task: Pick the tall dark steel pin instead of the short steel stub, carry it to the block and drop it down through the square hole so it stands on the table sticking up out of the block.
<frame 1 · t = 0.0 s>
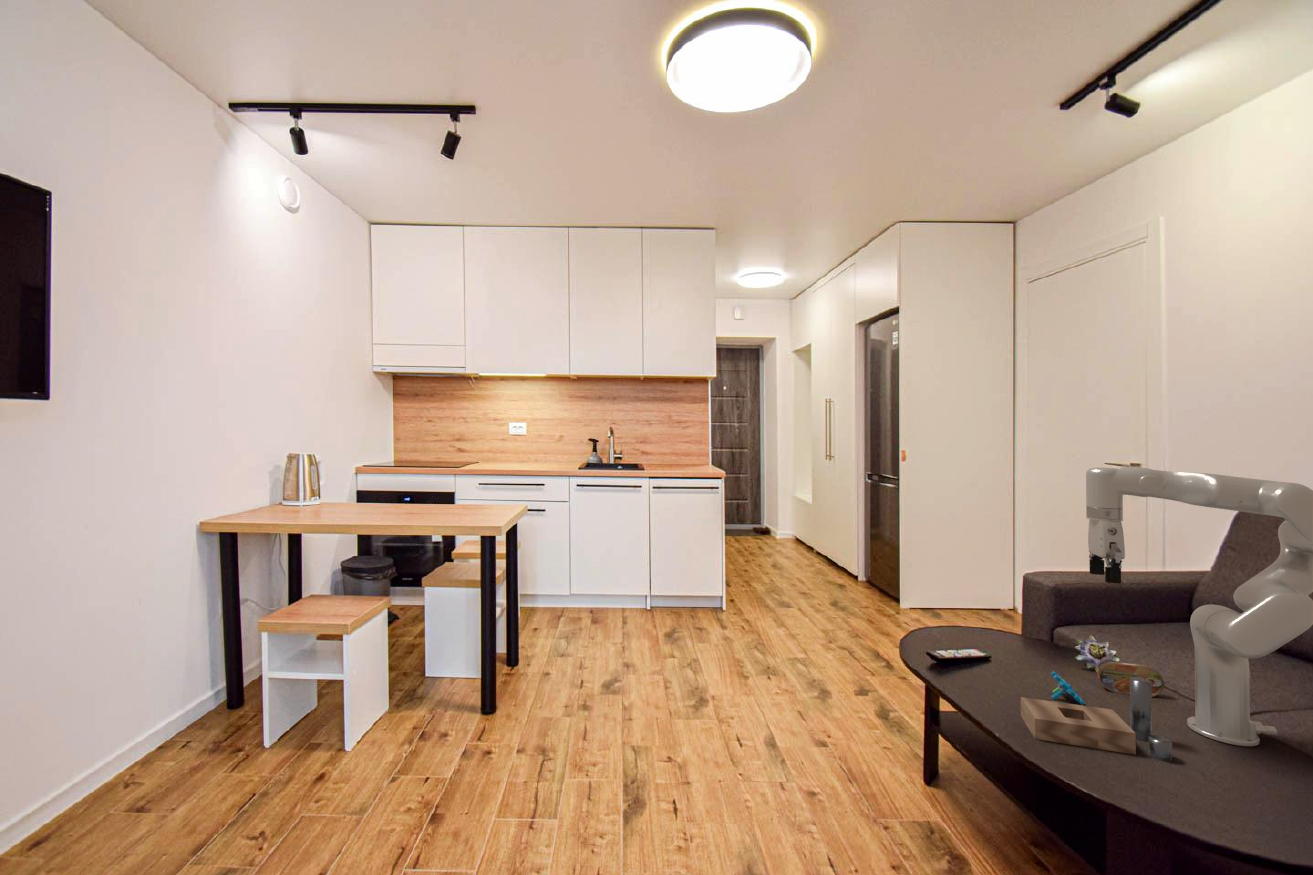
hand: (1104, 578, 145), 37 cm above the table, tool pointing down, fingers open, 9 cm apart
hole block: (1074, 733, 136), on the table
short pin: (1160, 756, 126), on the table
tin: (1129, 693, 159), on the table
passion flower: (1095, 668, 177), on the table
gear: (1067, 701, 154), on the table
long pin: (1141, 736, 135), on the table
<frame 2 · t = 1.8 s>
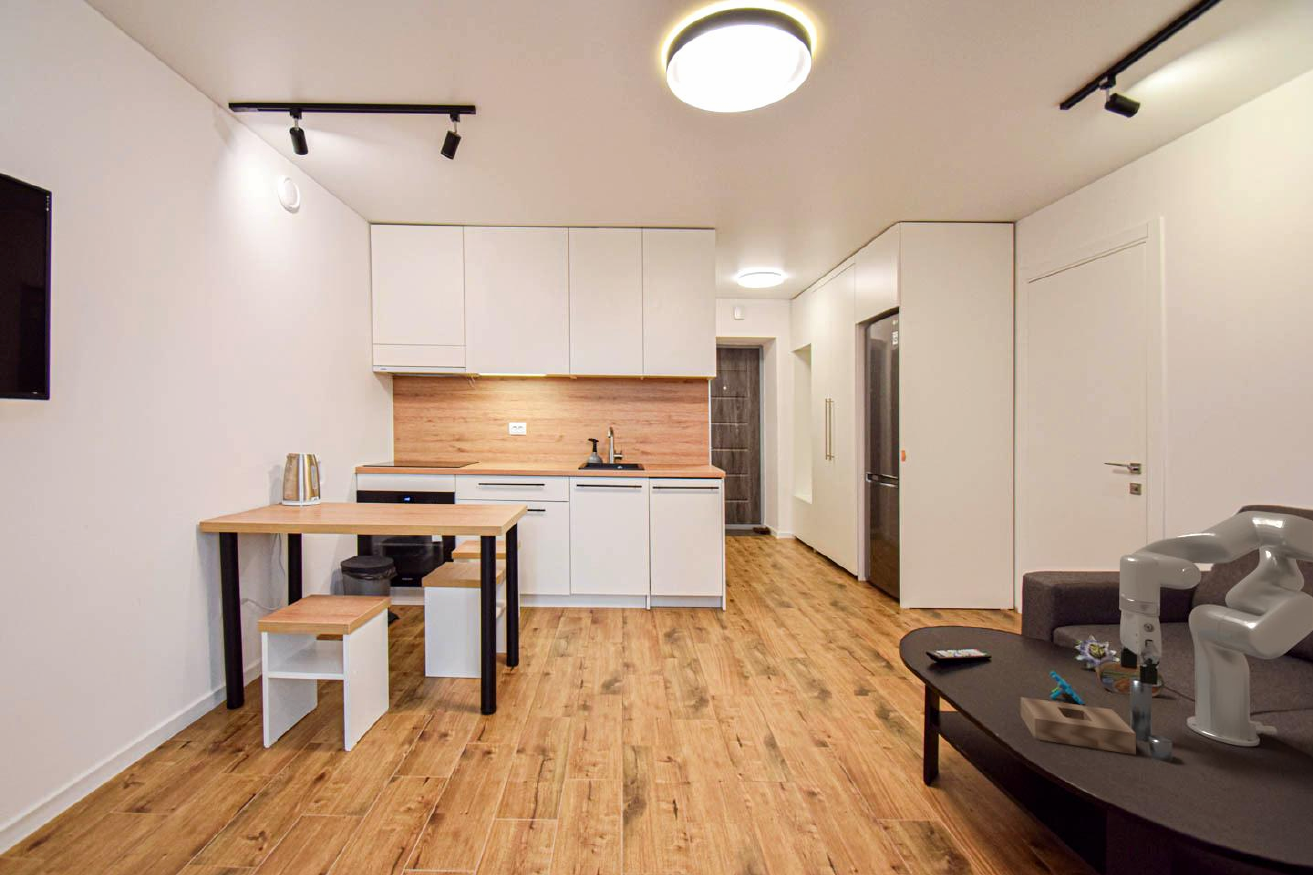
hand: (1138, 675, 135), 15 cm above the table, tool pointing down, fingers open, 9 cm apart
nothing on the table moved.
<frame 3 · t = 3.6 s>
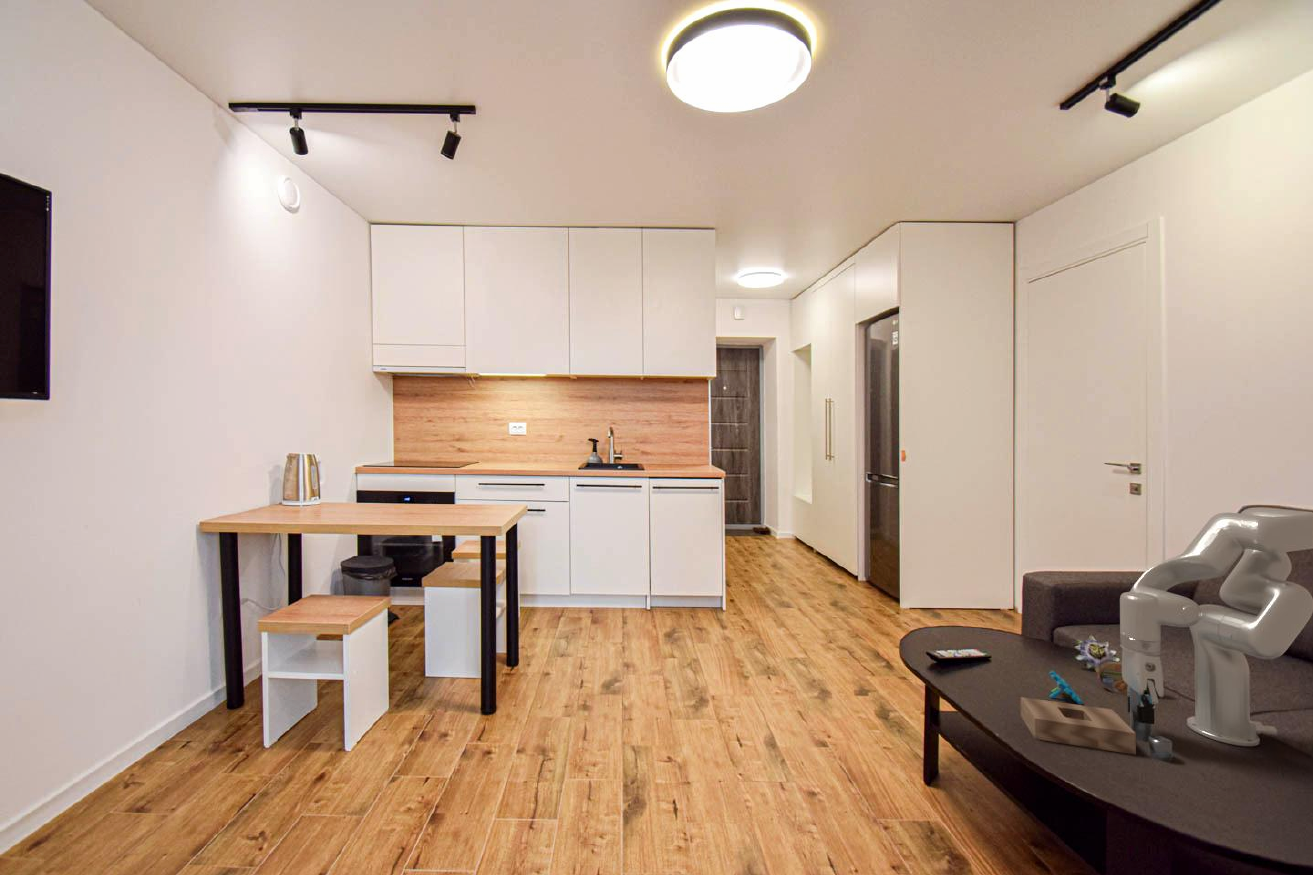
hand: (1140, 717, 135), 5 cm above the table, tool pointing down, fingers closed on long pin, 4 cm apart
long pin: (1141, 736, 135), on the table, touching gripper
everything else where it was.
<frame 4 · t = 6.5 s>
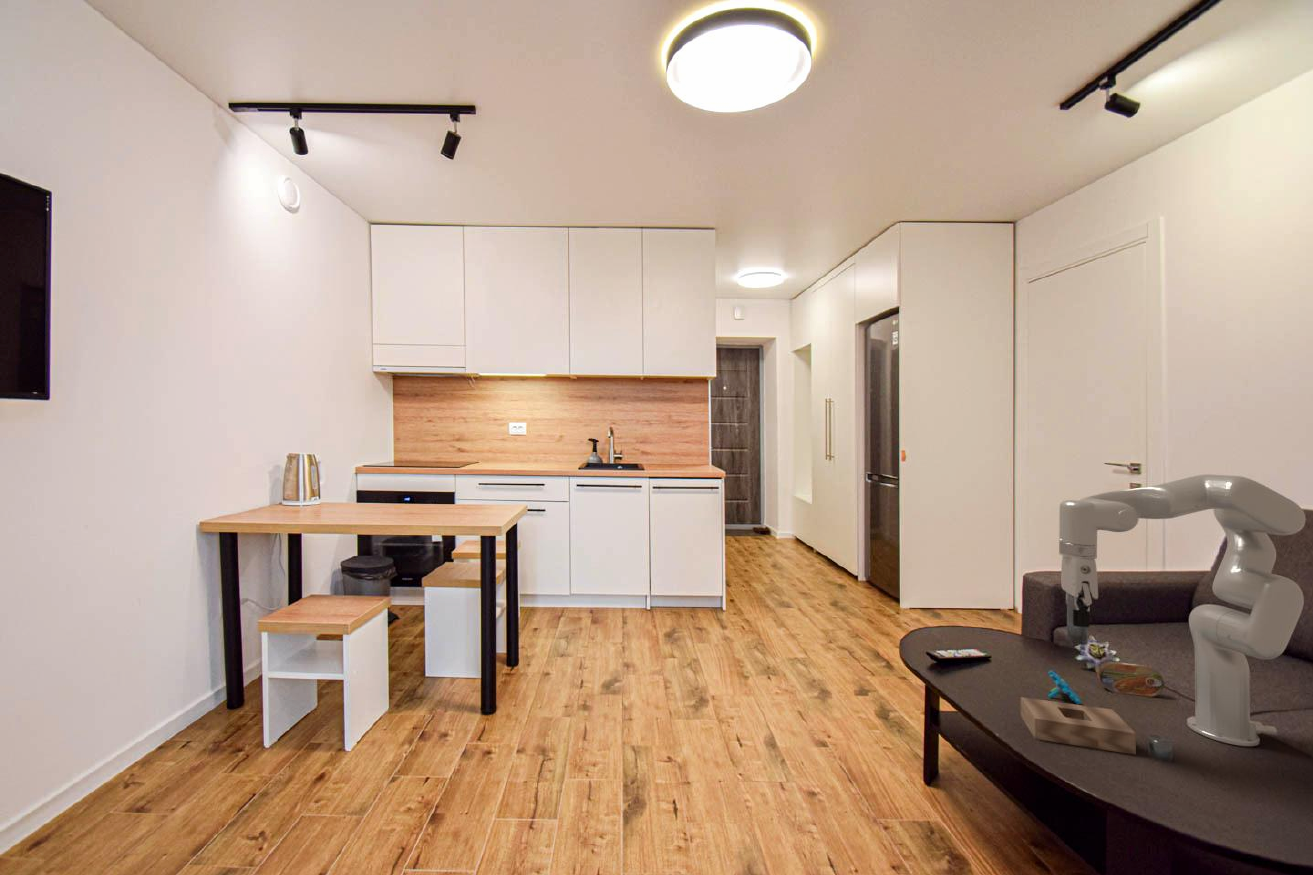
hand: (1077, 622, 136), 28 cm above the table, tool pointing down, fingers closed on long pin, 4 cm apart
long pin: (1076, 641, 136), point 23 cm above the table, touching gripper
everything else where it was.
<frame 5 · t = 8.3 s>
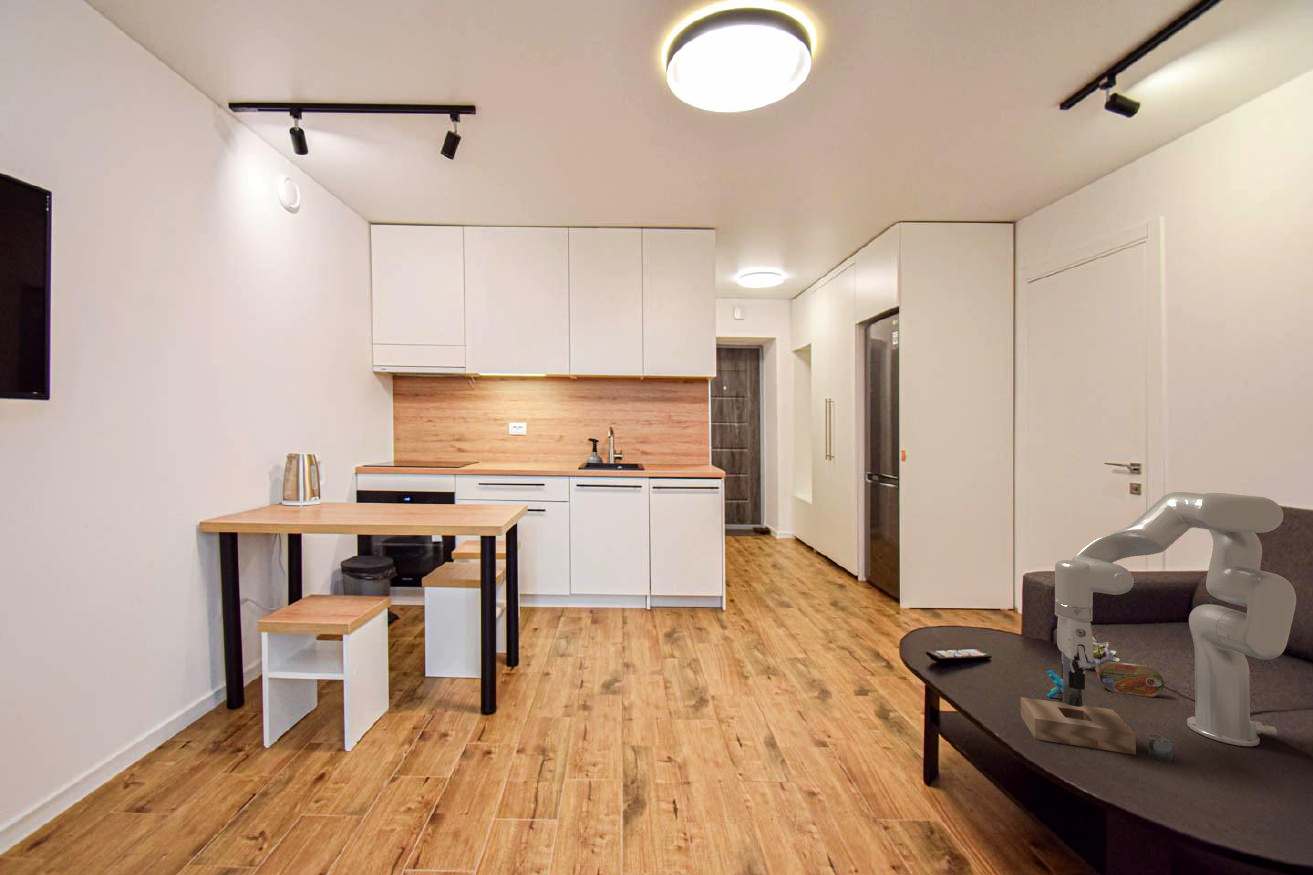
hand: (1072, 683, 136), 12 cm above the table, tool pointing down, fingers closed on long pin, 4 cm apart
long pin: (1072, 702, 136), point 8 cm above the table, touching gripper
everything else where it was.
when the fingers open (7 cm above the table, at t = 9.7 s): long pin drops 2 cm, resting in hole block.
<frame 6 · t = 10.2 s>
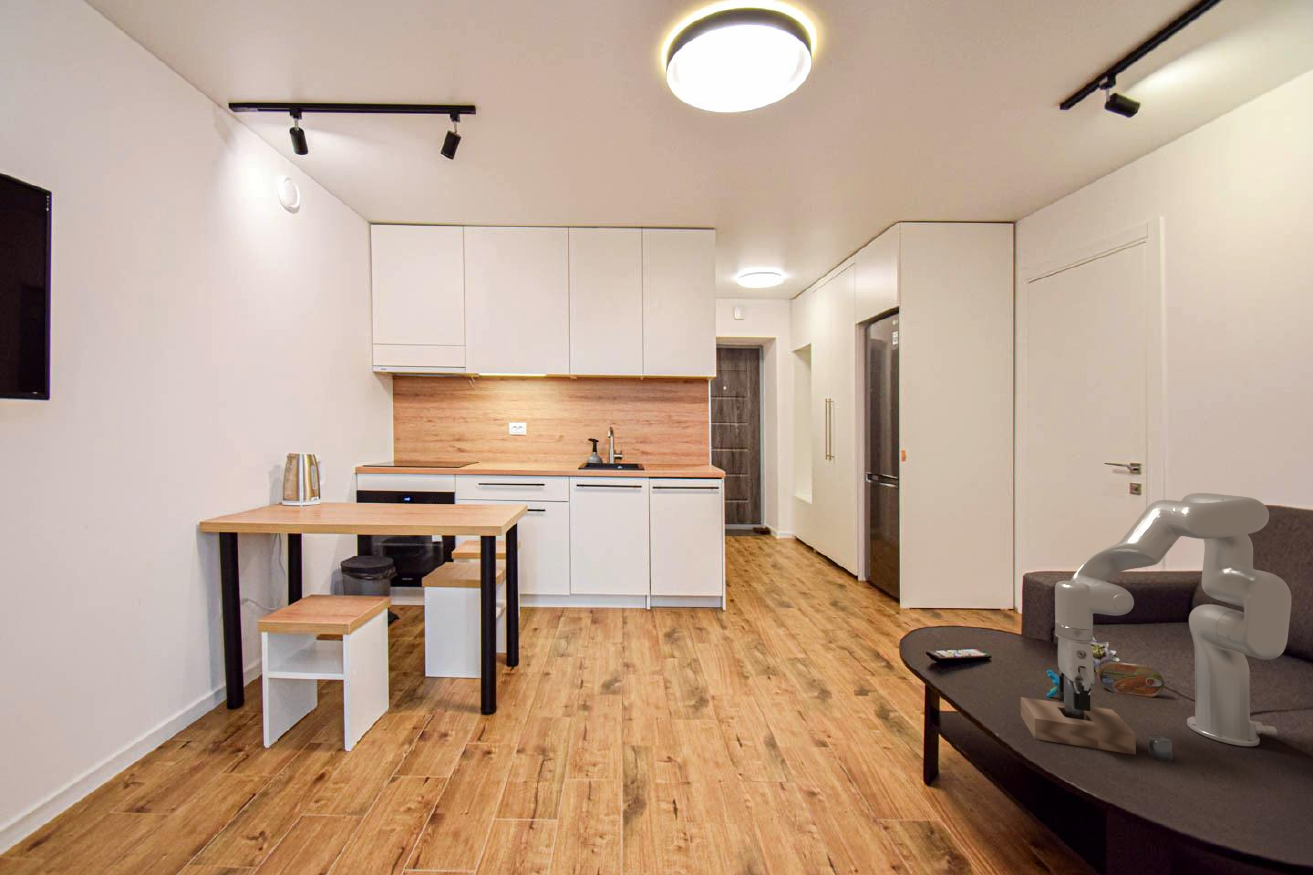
hand: (1074, 700, 136), 8 cm above the table, tool pointing down, fingers open, 9 cm apart
long pin: (1074, 733, 136), resting in hole block
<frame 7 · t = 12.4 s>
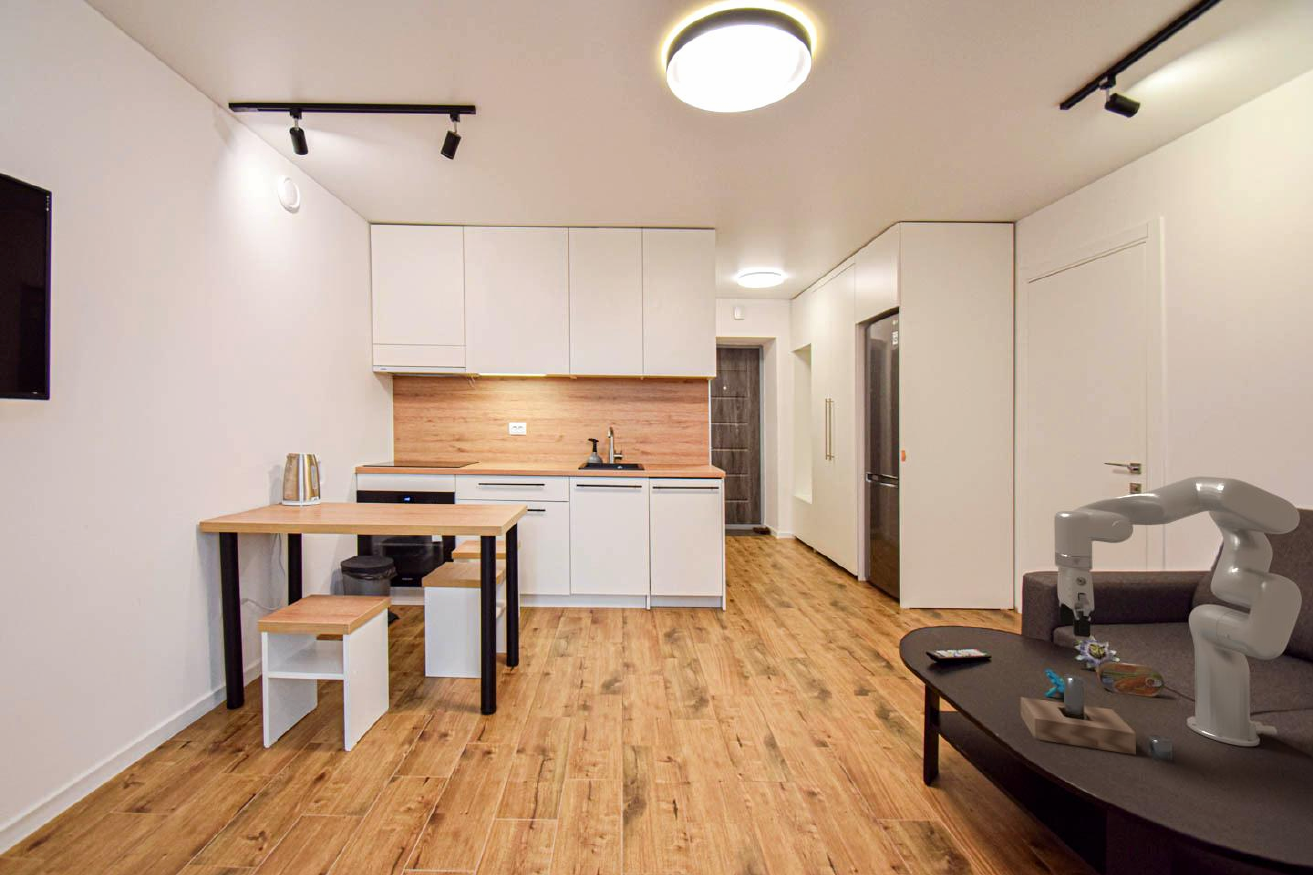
hand: (1074, 629, 136), 26 cm above the table, tool pointing down, fingers open, 9 cm apart
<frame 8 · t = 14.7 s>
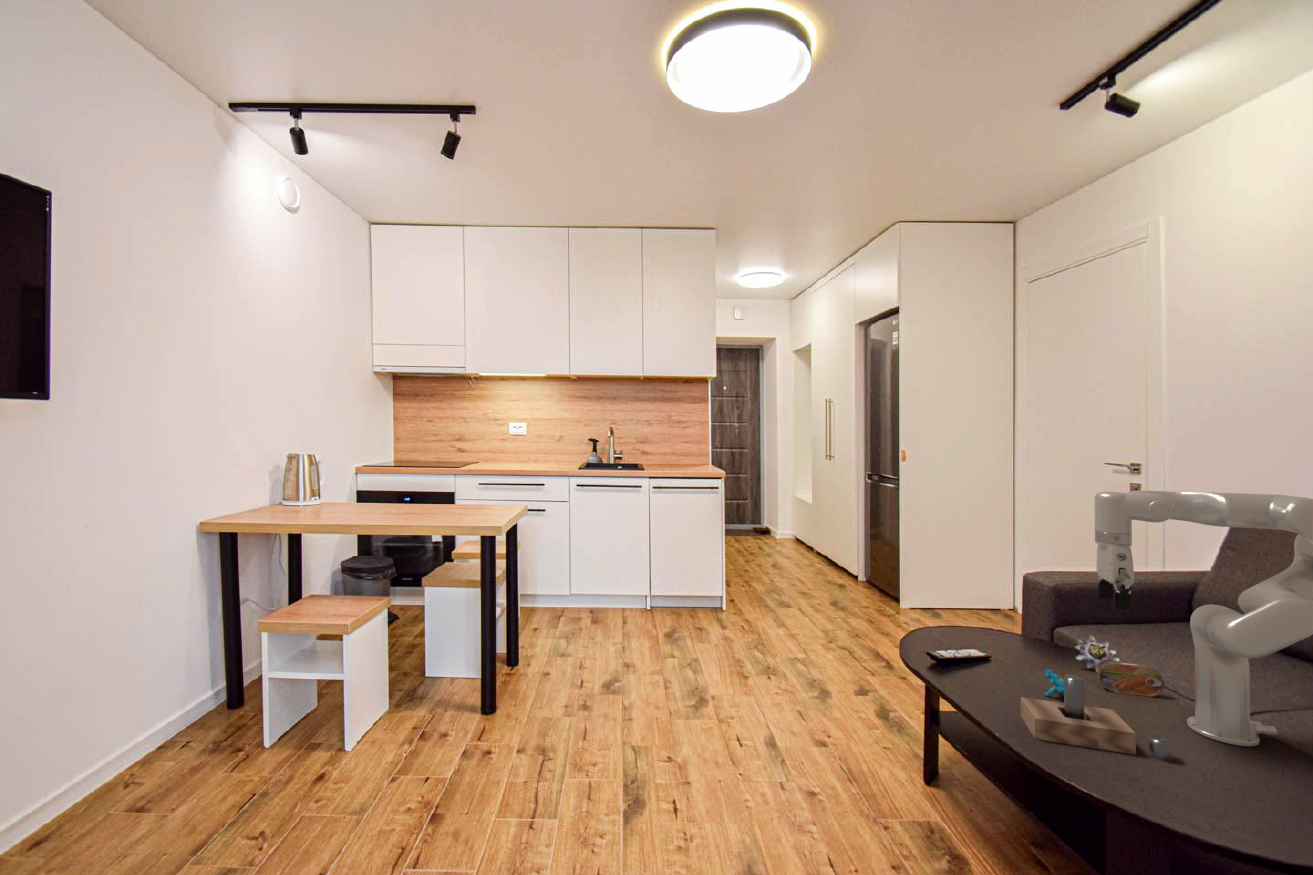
hand: (1113, 603, 144), 30 cm above the table, tool pointing down, fingers open, 9 cm apart
at the end: long pin 0.1 cm off-centre on the hole block, point 0.0 cm above the hole block's base; long pin tilted 0°; short pin moved 0.1 cm from its start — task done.
